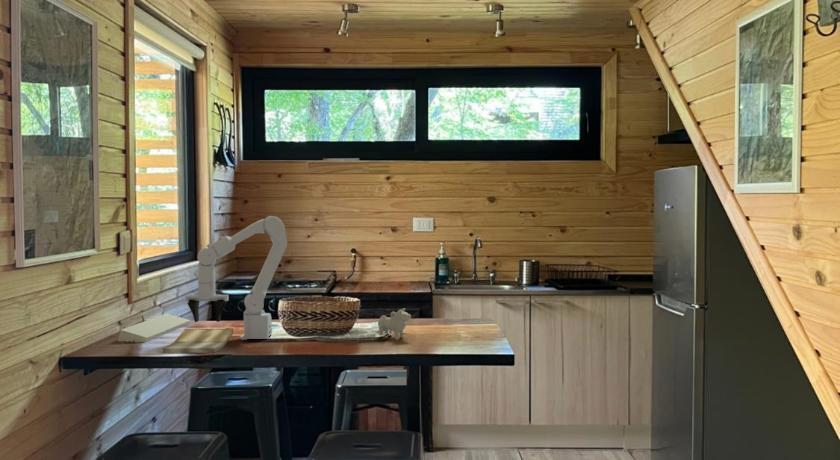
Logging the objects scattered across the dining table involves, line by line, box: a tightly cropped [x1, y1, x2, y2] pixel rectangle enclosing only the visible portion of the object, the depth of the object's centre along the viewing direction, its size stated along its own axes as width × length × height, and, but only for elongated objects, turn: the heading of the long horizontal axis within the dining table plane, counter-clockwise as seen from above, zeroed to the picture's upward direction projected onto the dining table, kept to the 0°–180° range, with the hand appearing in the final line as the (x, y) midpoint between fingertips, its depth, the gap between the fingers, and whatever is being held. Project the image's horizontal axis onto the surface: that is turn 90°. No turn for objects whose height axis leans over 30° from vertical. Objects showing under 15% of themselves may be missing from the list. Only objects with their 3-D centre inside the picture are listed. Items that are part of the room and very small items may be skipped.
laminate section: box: [162, 341, 226, 354], centre depth 224 cm, size 17×10×2 cm, turn 89°
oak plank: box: [174, 328, 234, 346], centre depth 234 cm, size 17×10×2 cm, turn 89°
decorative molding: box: [117, 313, 191, 343], centre depth 253 cm, size 34×5×10 cm
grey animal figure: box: [377, 307, 412, 341], centre depth 241 cm, size 5×13×11 cm, turn 60°
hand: (207, 321), depth 237 cm, fingers open, 7 cm apart
